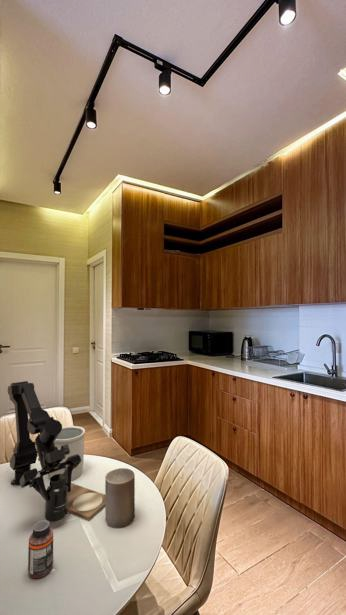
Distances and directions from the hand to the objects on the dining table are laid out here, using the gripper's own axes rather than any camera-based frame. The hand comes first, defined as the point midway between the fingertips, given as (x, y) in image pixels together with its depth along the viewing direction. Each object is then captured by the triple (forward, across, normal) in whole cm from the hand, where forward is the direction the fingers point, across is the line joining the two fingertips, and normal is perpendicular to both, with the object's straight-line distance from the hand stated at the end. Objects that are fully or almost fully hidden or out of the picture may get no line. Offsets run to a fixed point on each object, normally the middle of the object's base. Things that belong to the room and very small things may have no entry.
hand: (58, 496), depth 93 cm
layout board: (+2, +10, +10) cm, 14 cm away
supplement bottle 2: (+4, 0, +6) cm, 7 cm away
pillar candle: (+14, +16, -2) cm, 21 cm away
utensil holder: (-13, +14, +26) cm, 32 cm away
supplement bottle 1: (+16, -10, -4) cm, 19 cm away
